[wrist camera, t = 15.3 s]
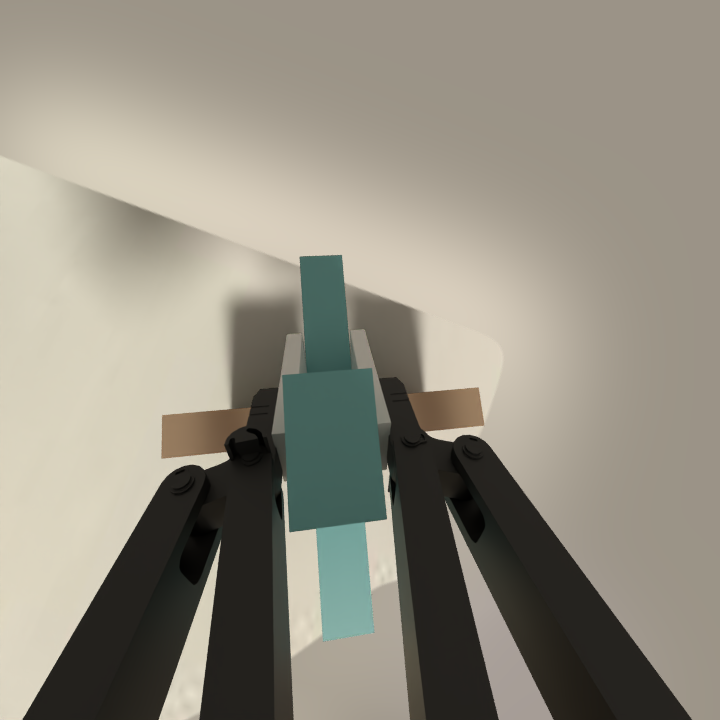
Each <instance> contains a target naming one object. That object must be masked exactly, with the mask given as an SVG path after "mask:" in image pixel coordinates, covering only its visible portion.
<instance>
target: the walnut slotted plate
mask: <svg viewBox="0 0 720 720" xmlns="http://www.w3.org/2000/svg"><path fill="white" fill-rule="evenodd" d="M407 395H408V397H409V401H410V403H411V405H412V408H413V410H414V413H415V416H416V418H417V421H418V423H419V426H420V428H421V429H422V430H424V431H435V430H444V429H454V428H464V427H474V426H483V425H484V420H483V413H482V407H481V401H480V394H479V388H467V389H456V390H445V391H433V392H422V393H411V394H407ZM250 409H251V408H240V409H229V410H217V411H206V412H195V413H183V414H172V415H162V458H172V457H182V456H191V455H201V454H211V453H221V452H227V451H226V449H225V446H224V444H225V441H226V439H227V438H228V436H229V435H230V434H231V433H232V432H234V431H235V430H237V429H239V428H241V427H244V426H246V425H247V421H248V417H249V413H250Z"/></svg>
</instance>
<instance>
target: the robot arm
mask: <svg viewBox="0 0 720 720" xmlns="http://www.w3.org/2000/svg"><path fill="white" fill-rule="evenodd" d="M350 340H351V369H365V368H372V372H373V382H374V393H375V403H376V413H377V423H378V434H379V444H380V454H381V464H382V470H386V469H387V463H388V467H389V472H390V476H389V486H388V492H390V498H391V509H392V521H393V532H394V543H395V555H396V566H397V577H398V588H399V600H400V611H401V622H402V633H403V644H404V656H405V668H406V678H407V690H408V701H409V712H410V720H499V719H498V715H497V711H496V707H495V703H494V699H493V695H492V690H491V687H490V683H489V679H488V675H487V670H486V666H485V662H484V658H483V654H482V650H481V646H480V642H479V638H478V634H477V629H476V625H475V621H474V617H473V613H472V609H471V605H470V601H469V597H468V593H467V588H466V585H465V580H464V576H463V573H462V568H461V564H460V560H459V556H458V552H457V548H456V544H455V540H454V535H453V531H452V527H451V523H450V519H449V515H448V511H447V507H446V503H447V505H448V507H449V509H450V511H451V513H452V515H453V517H454V519H455V521H456V523H457V525H458V527H459V529H460V531H461V533H462V535H463V537H464V540H465V542H466V544H467V546H468V547H469V549H470V552H471V554H472V556H473V558H474V560H475V562H476V564H477V566H478V568H479V570H480V572H481V574H482V576H483V578H484V580H485V582H486V584H487V586H488V588H489V590H490V592H491V594H492V596H493V598H494V600H495V602H496V604H497V606H498V608H499V610H500V612H501V614H502V616H503V618H504V620H505V622H506V624H507V626H508V628H509V630H510V632H511V634H512V637H513V639H514V641H515V642H516V645H517V647H518V649H519V651H520V653H521V655H522V656H523V659H524V661H525V663H526V665H527V667H528V669H529V671H530V673H531V675H532V677H533V679H534V681H535V683H536V685H537V687H538V689H539V691H540V693H541V695H542V697H543V699H544V701H545V703H546V705H547V707H548V709H549V711H550V713H551V715H552V717H553V719H554V720H692V719H691V718H690V716H689V715H688V714H687V712H686V711H685V710H684V708H683V707H682V706H681V704H680V703H679V702H678V700H677V699H676V698H675V696H674V695H673V693H672V692H671V691H670V689H669V688H668V687H667V685H666V684H665V683H664V681H663V680H662V679H661V677H660V676H659V675H658V673H657V672H656V670H655V669H654V668H653V666H652V665H651V664H650V662H649V661H648V660H647V658H646V657H645V656H644V654H643V653H642V651H641V650H640V649H639V648H638V646H637V645H636V643H635V642H634V641H633V639H632V638H631V637H630V635H629V634H628V632H627V631H626V630H625V629H624V627H623V626H622V624H621V623H620V622H619V620H618V619H617V618H616V616H615V615H614V614H613V612H612V611H611V610H610V608H609V607H608V605H607V604H606V603H605V601H604V600H603V599H602V597H601V596H600V595H599V594H598V592H597V591H596V589H595V588H594V587H593V585H592V584H591V582H590V581H589V580H588V578H587V577H586V576H585V574H584V573H583V572H582V570H581V569H580V568H579V566H578V565H577V564H576V562H575V561H574V559H573V558H572V557H571V555H570V554H569V553H568V551H567V550H566V549H565V547H564V546H563V545H562V543H561V542H560V541H559V539H558V538H557V537H556V535H555V534H554V532H553V531H552V530H551V528H550V527H549V526H548V525H547V523H546V522H545V521H544V519H543V518H542V517H541V515H540V514H539V512H538V511H537V509H536V508H535V507H534V505H533V504H532V503H531V501H530V500H529V499H528V498H527V496H526V495H525V494H524V492H523V491H522V489H521V488H520V487H519V485H518V484H517V482H516V481H515V480H514V479H513V477H512V476H511V475H510V473H509V472H508V470H507V469H506V468H505V466H504V465H503V464H502V462H501V461H500V459H499V458H498V457H497V455H496V454H495V453H494V452H493V450H492V449H491V447H490V446H489V445H488V444H487V443H486V442H485V441H484V440H482V439H480V438H478V437H476V436H472V435H462V436H460V437H458V438H457V439H456V440H455V441H454V442H449V441H443V440H438V439H435V438H432V437H430V436H429V435H428V434H427V433H426V432H425V431H424V430H422V429H421V428H420V426H419V423H418V421H417V418H416V416H415V413H414V410H413V408H412V405H411V403H410V401H409V397H408V395H407V392H406V390H405V387H404V384H403V383H402V382H401V381H400V380H398V379H397V378H396V377H394V378H382V379H379V378H378V375H377V371H376V368H375V364H374V361H373V357H372V354H371V350H370V347H369V343H368V340H367V336H366V333H365V329H358V330H350ZM301 373H307V368H306V360H305V352H304V345H303V338H302V333H295V334H287V337H286V344H285V350H284V357H283V363H282V370H281V376H280V383H279V388H269V389H260V390H259V391H258V393H257V394H256V395H255V396H254V397H253V401H252V405H251V409H250V413H249V417H248V421H247V425H246V426H244V427H241V428H239V429H237V430H235V431H234V432H232V433H231V434H230V435H229V436H228V438H227V439H226V441H225V444H224V446H225V449H226V451H227V453H228V456H229V458H230V459H229V460H228V461H226V462H224V463H222V464H219V465H217V466H214V467H211V468H209V469H206V470H204V469H202V468H201V467H200V466H197V465H187V466H183V467H181V468H179V469H176V470H175V471H173V472H172V473H171V474H169V475H168V476H167V477H166V478H165V479H164V481H163V482H162V483H161V485H160V487H159V488H158V490H157V492H156V493H155V495H154V497H153V498H152V500H151V502H150V504H149V505H148V507H147V509H146V510H145V512H144V514H143V515H142V517H141V519H140V521H139V522H138V524H137V526H136V527H135V529H134V531H133V532H132V534H131V536H130V538H129V539H128V541H127V543H126V544H125V546H124V548H123V549H122V551H121V553H120V555H119V556H118V558H117V560H116V561H115V563H114V565H113V566H112V568H111V570H110V572H109V573H108V575H107V577H106V578H105V580H104V582H103V584H102V585H101V587H100V589H99V590H98V592H97V594H96V595H95V597H94V599H93V601H92V602H91V604H90V606H89V607H88V609H87V611H86V612H85V614H84V616H83V618H82V619H81V621H80V623H79V624H78V626H77V628H76V629H75V631H74V633H73V635H72V636H71V638H70V640H69V641H68V643H67V645H66V646H65V648H64V650H63V652H62V653H61V655H60V657H59V658H58V660H57V662H56V664H55V665H54V667H53V669H52V670H51V672H50V674H49V675H48V677H47V679H46V681H45V682H44V684H43V686H42V687H41V689H40V691H39V692H38V694H37V696H36V698H35V699H34V701H33V703H32V704H31V706H30V708H29V709H28V711H27V713H26V715H25V716H24V718H23V720H159V717H160V714H161V711H162V708H163V705H164V702H165V699H166V697H167V694H168V691H169V688H170V685H171V682H172V679H173V676H174V673H175V671H176V668H177V665H178V662H179V659H180V656H181V653H182V650H183V648H184V645H185V642H186V639H187V636H188V633H189V630H190V627H191V624H192V622H193V619H194V616H195V613H196V610H197V607H198V604H199V601H200V599H201V596H202V593H203V590H204V587H205V584H206V581H207V578H208V575H209V573H210V570H211V567H212V564H213V561H214V558H215V555H216V552H217V550H218V547H219V544H220V541H221V546H220V554H219V562H218V570H217V579H216V587H215V595H214V604H213V612H212V620H211V628H210V637H209V645H208V653H207V661H206V670H205V678H204V686H203V695H202V703H201V711H200V719H199V720H293V697H292V676H291V653H290V631H289V609H288V587H287V565H286V543H285V521H284V499H283V491H282V488H281V484H282V475H283V479H284V481H287V469H286V448H285V427H284V405H283V384H282V375H288V374H301ZM445 501H446V503H445Z"/></svg>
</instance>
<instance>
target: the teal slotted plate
mask: <svg viewBox="0 0 720 720" xmlns="http://www.w3.org/2000/svg"><path fill="white" fill-rule="evenodd" d="M300 271H301V287H302V304H303V320H304V336H305V353H306V368H307V373H301V374H288V375H282V384H283V405H284V427H285V448H286V469H287V490H288V512H289V532H295V531H303V530H310V529H316V534H317V550H318V567H319V583H320V599H321V616H322V632H323V641H329V640H335V639H341V638H346V637H352V636H358V635H364V634H370V633H374V625H373V611H372V601H371V588H370V576H369V565H368V553H367V542H366V530H365V522H370V521H378V520H385V519H387V515H386V505H385V495H384V485H383V475H382V464H381V454H380V444H379V434H378V423H377V413H376V403H375V393H374V382H373V372H372V368H365V369H351V356H350V344H349V333H348V321H347V309H346V298H345V286H344V275H343V263H342V255H331V256H303V257H300Z"/></svg>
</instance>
